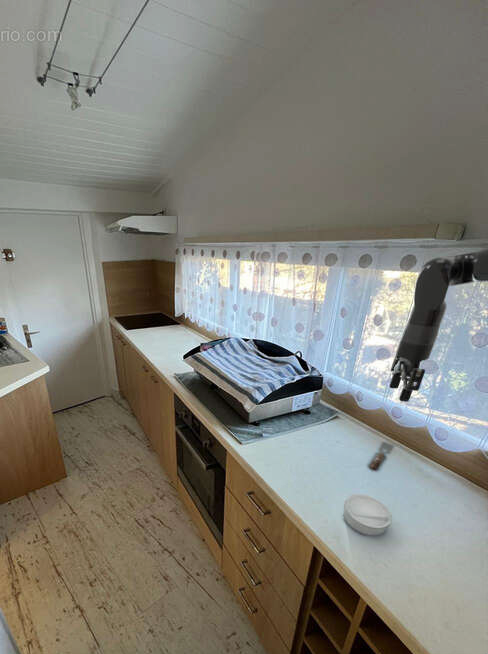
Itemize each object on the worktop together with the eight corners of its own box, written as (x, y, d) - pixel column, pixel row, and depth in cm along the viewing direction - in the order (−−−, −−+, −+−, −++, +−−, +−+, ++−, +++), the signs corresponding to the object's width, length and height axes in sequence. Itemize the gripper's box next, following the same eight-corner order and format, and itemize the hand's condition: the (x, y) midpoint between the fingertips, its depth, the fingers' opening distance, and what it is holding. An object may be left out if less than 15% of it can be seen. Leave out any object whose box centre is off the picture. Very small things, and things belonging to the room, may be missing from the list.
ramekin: (366, 547, 76) (371, 533, 74) (331, 515, 85) (335, 501, 83) (396, 531, 80) (402, 518, 78) (359, 502, 89) (364, 489, 87)
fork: (383, 446, 113) (385, 441, 112) (391, 449, 111) (393, 443, 110) (366, 471, 101) (368, 465, 100) (374, 474, 100) (376, 468, 98)
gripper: (446, 349, 74) (422, 407, 82) (422, 333, 86) (403, 385, 94) (411, 347, 76) (391, 404, 83) (392, 331, 88) (376, 382, 95)
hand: (398, 394), depth 88 cm, fingers open, 8 cm apart
